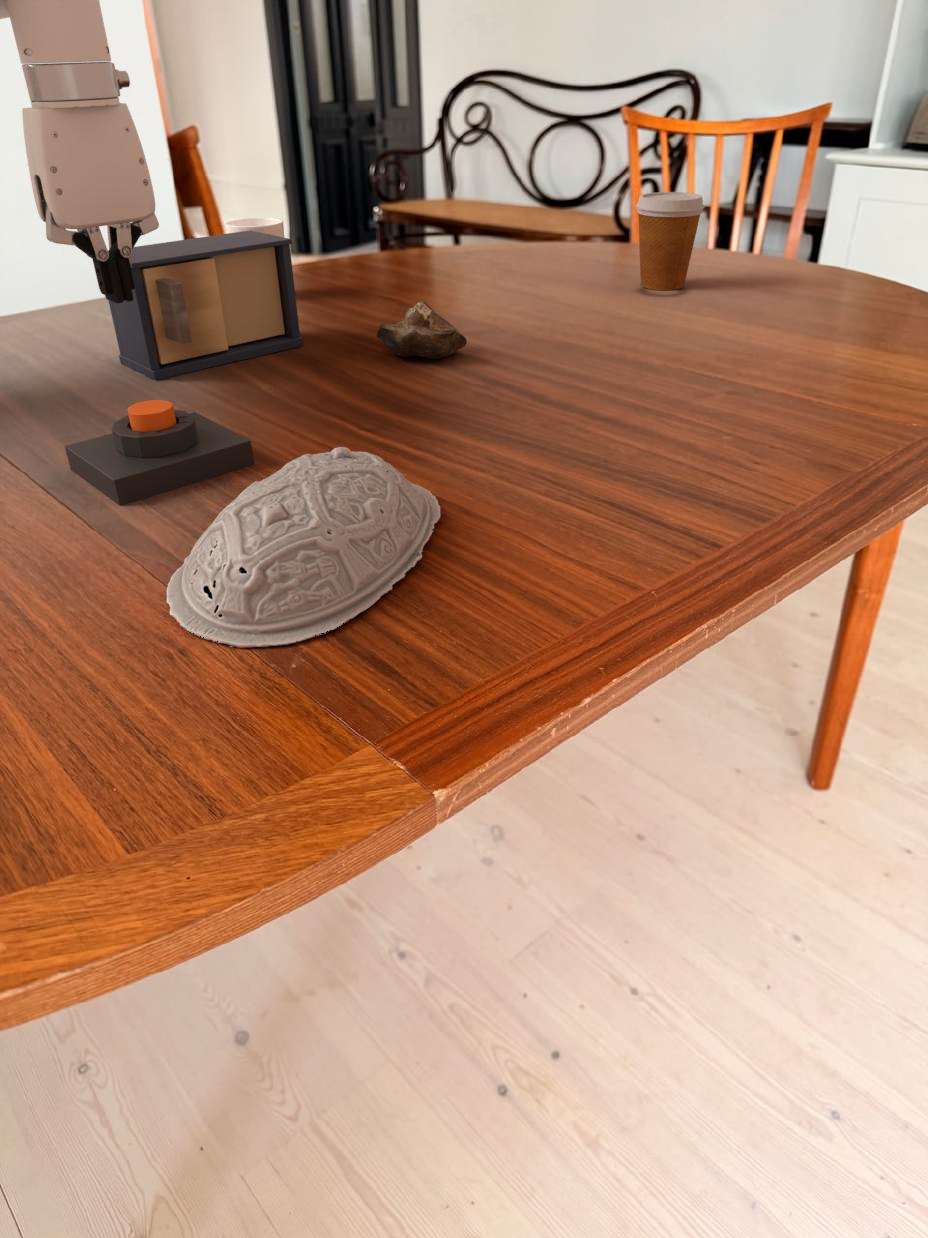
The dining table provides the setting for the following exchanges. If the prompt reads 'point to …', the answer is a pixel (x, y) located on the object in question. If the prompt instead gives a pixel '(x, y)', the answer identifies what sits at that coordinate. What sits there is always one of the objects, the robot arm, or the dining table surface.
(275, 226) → the white cup
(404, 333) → the fossilized seashell
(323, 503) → the grey embossed domed part
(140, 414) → the orange button
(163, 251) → the closet
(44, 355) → the dining table surface
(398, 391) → the dining table surface
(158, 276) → the closet door
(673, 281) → the disposable coffee cup
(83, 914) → the dining table surface
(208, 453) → the switch block
